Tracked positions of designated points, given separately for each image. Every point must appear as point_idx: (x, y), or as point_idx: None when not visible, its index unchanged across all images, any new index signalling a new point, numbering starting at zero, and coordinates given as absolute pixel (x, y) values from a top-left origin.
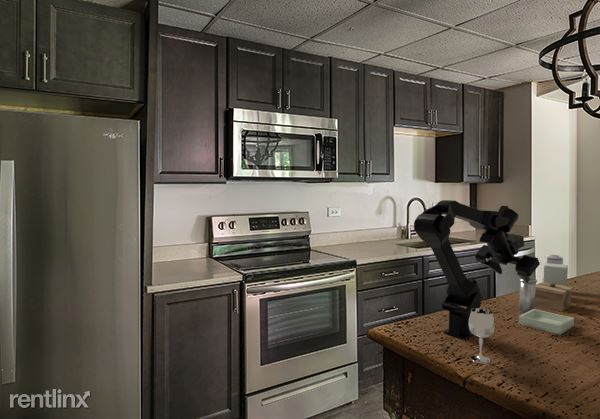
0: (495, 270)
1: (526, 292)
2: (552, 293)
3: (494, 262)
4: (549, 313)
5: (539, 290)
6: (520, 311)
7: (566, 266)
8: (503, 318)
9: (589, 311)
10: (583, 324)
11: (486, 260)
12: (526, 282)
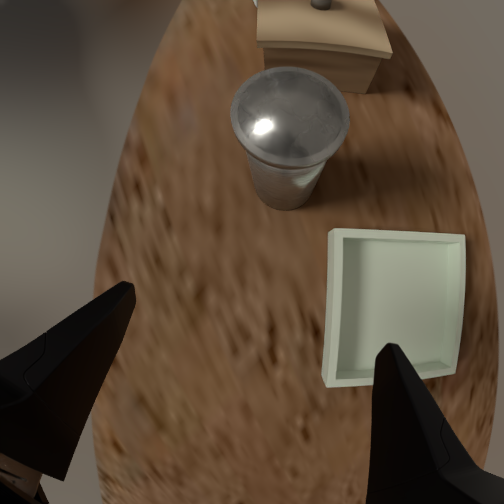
0: (102, 383)
1: (297, 184)
2: (344, 52)
3: (52, 425)
4: (397, 239)
5: (290, 46)
6: (267, 205)
7: None
8: (255, 352)
9: (404, 48)
10: (457, 194)
11: (34, 494)
12: (379, 363)
